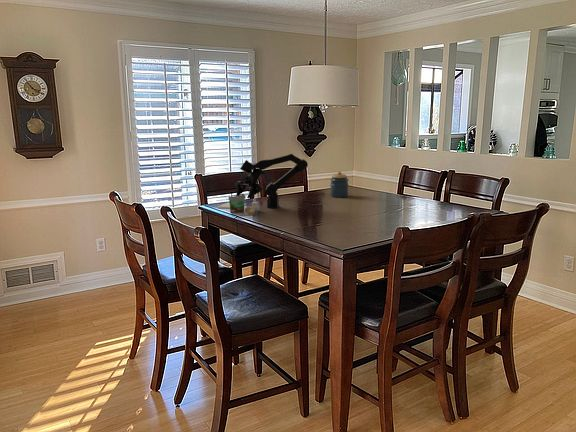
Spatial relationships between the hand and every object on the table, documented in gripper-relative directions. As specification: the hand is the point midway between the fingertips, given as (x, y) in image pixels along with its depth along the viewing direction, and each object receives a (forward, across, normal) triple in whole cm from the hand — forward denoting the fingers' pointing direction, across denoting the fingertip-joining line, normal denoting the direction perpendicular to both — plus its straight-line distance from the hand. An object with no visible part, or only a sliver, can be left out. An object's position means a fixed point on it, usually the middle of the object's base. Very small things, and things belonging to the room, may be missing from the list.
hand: (242, 197), depth 282 cm
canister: (-50, +18, +62) cm, 82 cm away
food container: (+8, 0, +4) cm, 9 cm away
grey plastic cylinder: (+2, +6, +10) cm, 11 cm away
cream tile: (+1, -16, +10) cm, 19 cm away
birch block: (+9, +11, +3) cm, 14 cm away
